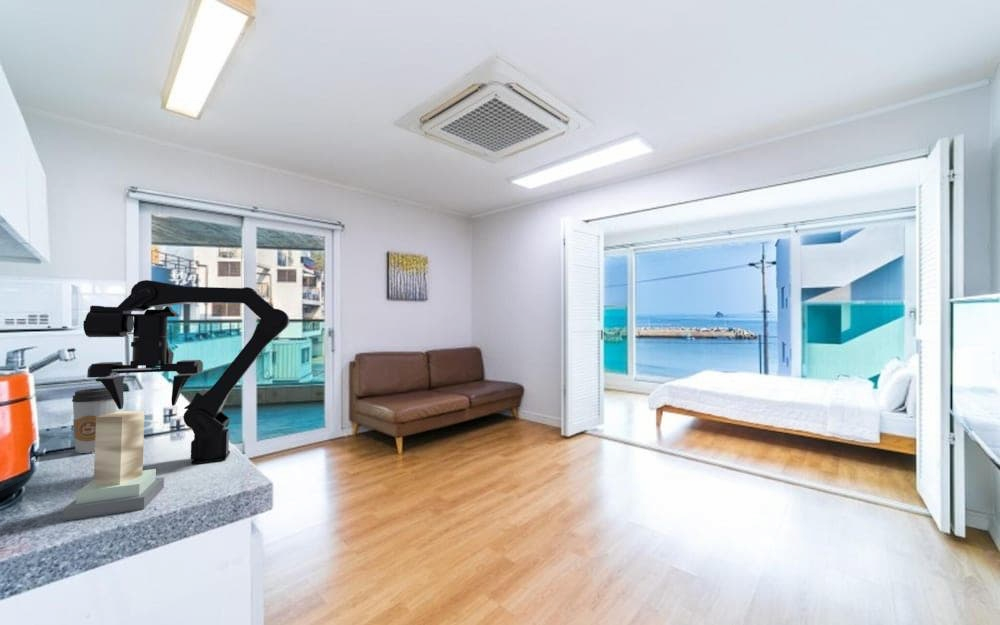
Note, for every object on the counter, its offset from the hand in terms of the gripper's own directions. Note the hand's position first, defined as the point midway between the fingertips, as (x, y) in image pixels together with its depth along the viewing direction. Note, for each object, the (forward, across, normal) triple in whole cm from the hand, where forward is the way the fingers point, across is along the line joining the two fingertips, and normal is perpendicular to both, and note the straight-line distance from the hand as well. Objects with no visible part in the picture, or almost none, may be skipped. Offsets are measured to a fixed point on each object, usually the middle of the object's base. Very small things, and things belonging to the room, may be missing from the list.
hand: (147, 407), depth 89 cm
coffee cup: (+13, +16, -20) cm, 29 cm away
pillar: (+9, -2, +22) cm, 24 cm away
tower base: (+13, -2, +22) cm, 25 cm away
